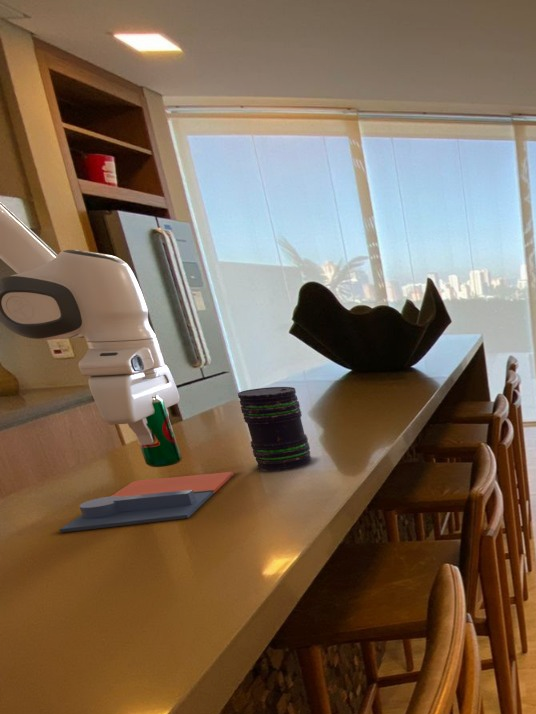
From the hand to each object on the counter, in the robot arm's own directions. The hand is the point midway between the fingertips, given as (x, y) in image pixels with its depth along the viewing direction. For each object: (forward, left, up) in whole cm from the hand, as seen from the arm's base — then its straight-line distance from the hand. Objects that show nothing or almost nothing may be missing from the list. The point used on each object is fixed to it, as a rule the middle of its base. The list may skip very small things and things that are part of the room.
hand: (156, 439), depth 99 cm
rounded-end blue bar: (0, -12, -9) cm, 15 cm away
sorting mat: (0, -6, -9) cm, 11 cm away
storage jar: (+16, +10, -9) cm, 21 cm away
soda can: (0, 0, -5) cm, 5 cm away
